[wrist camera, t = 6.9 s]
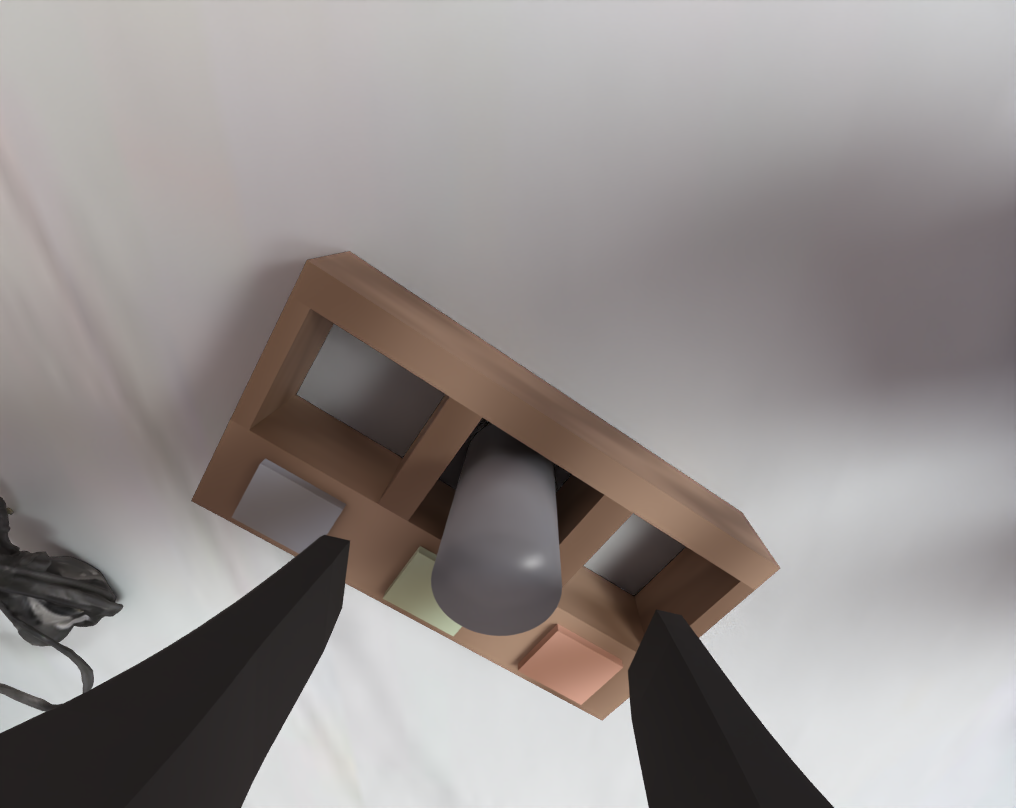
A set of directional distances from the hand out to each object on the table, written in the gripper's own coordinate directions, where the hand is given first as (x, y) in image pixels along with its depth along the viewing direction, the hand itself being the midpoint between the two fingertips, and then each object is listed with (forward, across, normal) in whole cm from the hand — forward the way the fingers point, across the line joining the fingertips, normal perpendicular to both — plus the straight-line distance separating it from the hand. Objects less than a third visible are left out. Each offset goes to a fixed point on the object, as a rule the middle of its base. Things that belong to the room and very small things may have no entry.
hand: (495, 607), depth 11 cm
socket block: (+7, 0, +1) cm, 7 cm away
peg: (+7, 0, 0) cm, 7 cm away
